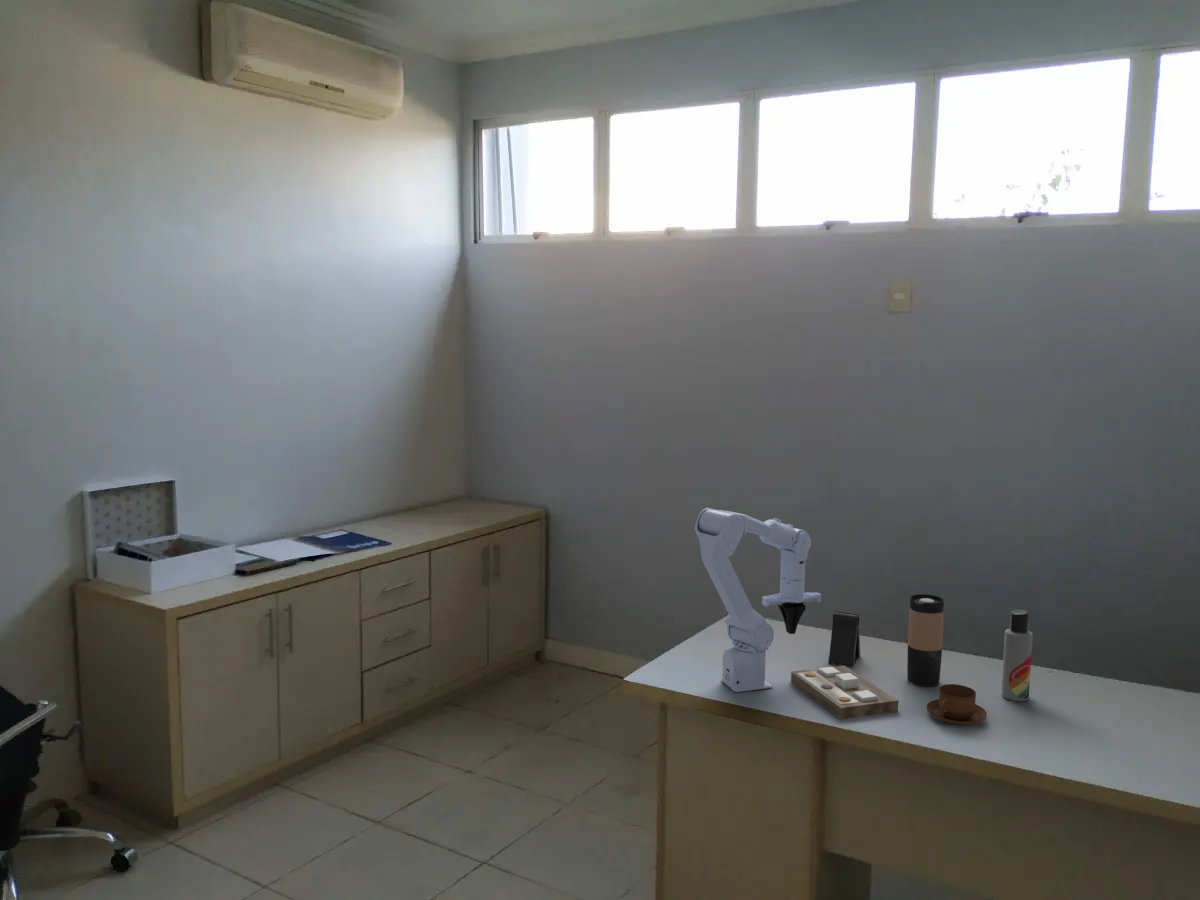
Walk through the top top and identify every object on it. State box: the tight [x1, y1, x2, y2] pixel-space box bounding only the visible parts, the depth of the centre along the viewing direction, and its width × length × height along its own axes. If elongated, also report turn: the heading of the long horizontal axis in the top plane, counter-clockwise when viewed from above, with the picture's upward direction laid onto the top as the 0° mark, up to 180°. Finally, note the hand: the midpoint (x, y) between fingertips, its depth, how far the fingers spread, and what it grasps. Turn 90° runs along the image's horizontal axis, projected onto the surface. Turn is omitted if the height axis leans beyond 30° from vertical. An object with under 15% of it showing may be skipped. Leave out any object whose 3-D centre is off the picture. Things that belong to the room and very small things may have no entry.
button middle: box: [835, 673, 858, 689], centre depth 211 cm, size 4×4×3 cm
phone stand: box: [828, 610, 861, 668], centre depth 234 cm, size 9×6×12 cm, turn 153°
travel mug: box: [906, 593, 945, 688], centre depth 219 cm, size 8×8×20 cm
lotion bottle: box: [1001, 609, 1034, 702], centre depth 210 cm, size 6×6×20 cm
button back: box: [818, 666, 840, 677], centre depth 218 cm, size 4×4×3 cm
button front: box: [853, 690, 877, 702], centre depth 204 cm, size 4×4×3 cm
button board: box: [790, 665, 899, 720], centre depth 211 cm, size 14×22×3 cm, turn 17°
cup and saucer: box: [926, 683, 988, 726], centre depth 199 cm, size 12×12×6 cm
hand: (790, 632), depth 225 cm, fingers closed
